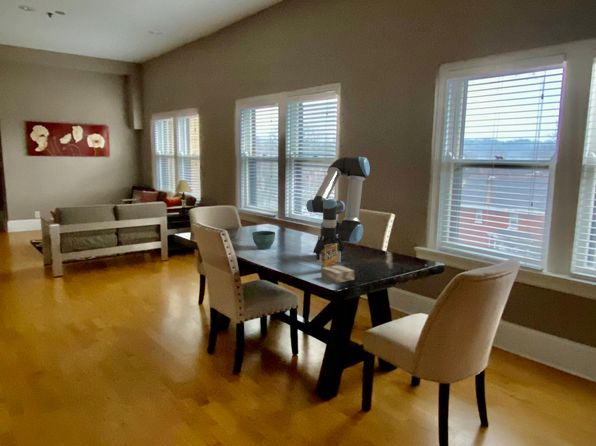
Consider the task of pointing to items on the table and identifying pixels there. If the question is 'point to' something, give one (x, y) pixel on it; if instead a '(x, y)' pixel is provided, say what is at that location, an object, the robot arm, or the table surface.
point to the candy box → (329, 255)
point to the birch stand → (337, 273)
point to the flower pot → (263, 239)
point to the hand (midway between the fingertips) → (329, 263)
